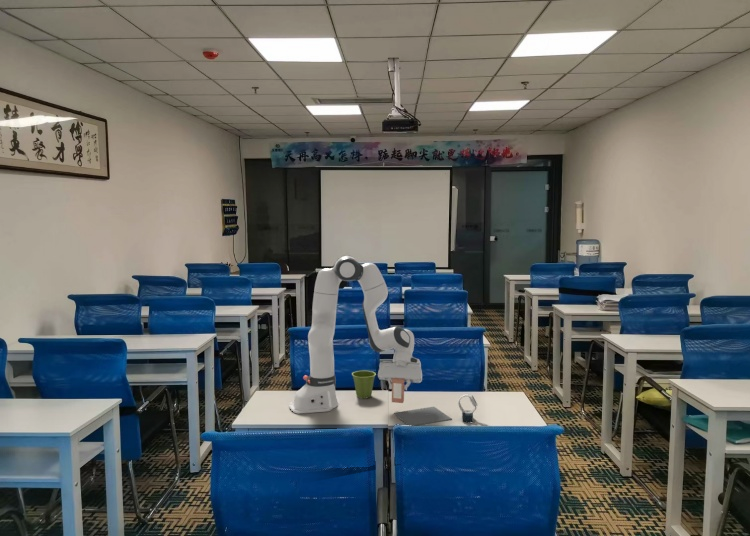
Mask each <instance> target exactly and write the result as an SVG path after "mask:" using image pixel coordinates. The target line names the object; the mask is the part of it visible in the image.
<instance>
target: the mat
mask: <svg viewBox="0 0 750 536" xmlns="http://www.w3.org/2000/svg"><path fill="white" fill-rule="evenodd" d="M393 415H395V416H396V417H397V418H399V419H400V420H401V421H402V420H403V421H404V422H405V423H404V424H406V423H407V424H408V425H417V426H420V425H421V426H422V425H428V424H432V423H440V422H445V421H452V418H451V417H450V415H447V414H446V413H444V412H443V411H441V410H440V409H438V408H437V407H436V406H430V407H429V406H428V407H422V408H417V409H411V410H410V409H409V410H403V411H397V412H396V411H395V412H393ZM403 421H402V422H403ZM407 424H406V425H407ZM408 425H407V426H408Z"/></svg>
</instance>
